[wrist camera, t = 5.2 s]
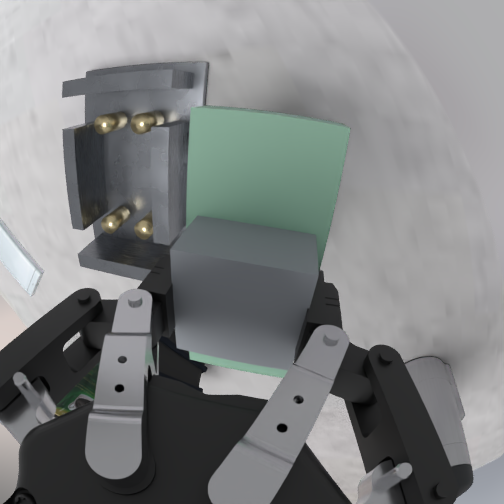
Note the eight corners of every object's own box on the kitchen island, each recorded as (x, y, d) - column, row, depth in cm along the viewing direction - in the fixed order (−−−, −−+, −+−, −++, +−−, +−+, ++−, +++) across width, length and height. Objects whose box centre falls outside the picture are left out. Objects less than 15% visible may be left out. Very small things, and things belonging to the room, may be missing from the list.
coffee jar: (81, 356, 48) (34, 430, 32) (93, 342, 44) (39, 426, 28) (120, 387, 50) (81, 463, 34) (137, 376, 47) (95, 464, 31)
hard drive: (-11, 248, 38) (30, 298, 41) (-5, 219, 34) (39, 275, 37) (-5, 243, 39) (35, 292, 42) (2, 215, 35) (46, 269, 39)
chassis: (90, 71, 23) (55, 73, 19) (208, 62, 22) (186, 56, 18) (100, 248, 34) (75, 272, 29) (198, 267, 33) (181, 297, 28)
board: (206, 105, 12) (156, 112, 8) (343, 123, 12) (367, 139, 7) (198, 337, 19) (174, 397, 15) (289, 354, 19) (282, 420, 14)
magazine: (130, 297, 35) (123, 418, 25) (206, 330, 43) (214, 430, 34) (115, 308, 36) (108, 421, 27) (189, 338, 45) (195, 433, 35)
